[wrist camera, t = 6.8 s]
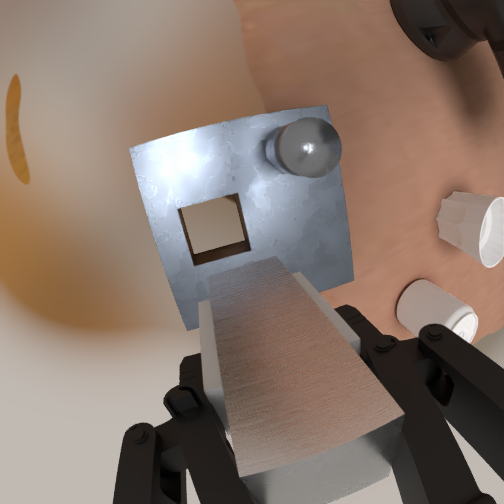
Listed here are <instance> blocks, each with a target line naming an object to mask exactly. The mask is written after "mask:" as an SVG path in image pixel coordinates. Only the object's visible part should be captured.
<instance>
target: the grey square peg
mask: <svg viewBox="0 0 504 504" xmlns="http://www.w3.org/2000/svg"><path fill="white" fill-rule="evenodd" d="M207 279H208V287H209V295H210V303H211V311H212V319H213V326H214V333H215V341H216V348H217V354H218V361H219V368H220V374H221V380H222V387H223V393H224V399H225V405H226V410H227V416H228V422H229V427H230V433H231V438H232V443H233V448H234V454H235V459H236V464H237V468H238V473H239V478H240V479H241V480H242V482H243V483H244V484H245V485H246V487H247V488H248V489H249V491H250V492H251V493H252V494H253V496H254V497H255V498H256V499H257V501H258V502H259V503H260V504H326V503H329V502H332V501H334V500H337V499H339V498H342V497H345V496H347V495H349V494H352V493H354V492H356V491H359V490H361V489H363V488H365V487H367V486H370V485H372V484H374V483H376V482H378V481H380V480H382V479H384V478H386V477H388V476H389V473H390V470H391V467H392V463H393V460H394V457H395V453H396V449H397V445H398V442H399V438H400V434H401V429H402V425H403V421H404V416H405V413H404V412H403V410H402V409H401V408H400V407H399V405H398V404H397V403H396V401H395V400H394V399H393V398H392V396H391V395H390V394H389V393H388V391H387V390H386V389H385V388H384V386H383V385H382V384H381V383H380V381H379V380H378V379H377V378H376V376H375V375H374V374H373V373H372V371H371V370H370V369H369V368H368V366H367V365H366V364H365V363H364V361H363V360H362V359H361V358H360V357H359V355H358V354H357V353H356V352H355V350H354V349H353V348H352V347H351V345H350V344H349V343H348V342H347V341H346V339H345V338H344V337H343V336H342V334H341V333H340V332H339V331H338V329H337V328H336V327H335V326H334V325H333V323H332V322H331V321H330V320H329V319H328V317H327V316H326V315H325V314H324V312H323V311H322V310H321V309H320V308H319V306H318V305H317V304H316V303H315V302H314V300H313V299H312V298H311V297H310V295H309V294H308V293H307V292H306V291H305V289H304V288H303V287H302V286H301V285H300V283H299V282H298V281H297V280H296V279H295V277H294V276H293V275H292V274H291V273H290V271H289V270H288V269H287V268H286V267H285V266H284V264H283V263H282V262H281V261H280V260H279V258H278V257H277V256H273V257H270V258H266V259H263V260H260V261H256V262H253V263H250V264H247V265H243V266H240V267H237V268H233V269H230V270H227V271H223V272H220V273H217V274H213V275H210V276H207Z"/></svg>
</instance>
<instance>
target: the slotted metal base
mask: <svg viewBox="0 0 504 504" xmlns="http://www.w3.org/2000/svg"><path fill="white" fill-rule="evenodd" d="M129 150H130V154H131V158H132V162H133V166H134V170H135V174H136V178H137V182H138V185H139V189H140V192H141V196H142V200H143V203H144V206H145V210H146V213H147V217H148V220H149V223H150V227H151V230H152V233H153V236H154V239H155V243H156V246H157V249H158V252H159V255H160V258H161V261H162V264H163V267H164V270H165V273H166V276H167V278H168V281H169V284H170V287H171V290H172V292H173V295H174V298H175V301H176V303H177V306H178V309H179V311H180V314H181V316H182V319H183V322H184V324H185V327H186V329H187V331H189V330H193V329H196V328H199V310H198V303H199V302H202V301H205V300H209V299H210V295H209V287H208V279H207V276H210V275H213V274H217V273H220V272H223V271H227V270H230V269H233V268H237V267H240V266H243V265H247V264H250V263H253V262H256V261H260V260H263V259H266V258H270V257H273V256H277V257H278V258H279V260H280V261H281V262H282V263H283V264H284V266H285V267H286V268H287V269H288V270H289V271H290V273H291V274H293V273H296V272H299V271H300V272H301V273H302V275H303V276H304V277H305V278H306V279H307V280H308V281H309V282H310V283H311V284H312V285H313V287H314V288H315V289H316V290H317V291H318V292H322V291H325V290H328V289H331V288H334V287H337V286H340V285H343V284H345V283H348V282H351V281H354V273H353V262H352V251H351V242H350V233H349V225H348V217H347V210H346V203H345V196H344V190H343V183H342V177H341V171H340V165H339V160H340V157H341V151H342V148H341V141H340V138H339V135H338V133H337V132H336V130H335V129H334V128H333V126H332V125H331V120H330V115H329V111H328V107H327V105H323V106H314V107H306V108H298V109H291V110H284V111H278V112H272V113H266V114H260V115H255V116H249V117H244V118H239V119H235V120H230V121H225V122H221V123H216V124H212V125H208V126H204V127H200V128H196V129H192V130H188V131H184V132H180V133H177V134H174V135H170V136H166V137H163V138H160V139H156V140H153V141H150V142H146V143H144V144H140V145H137V146H134V147H131V148H129ZM231 194H234V196H235V200H236V204H237V208H238V213H239V217H240V221H241V225H242V229H243V233H244V237H245V241H241V242H238V243H234V244H230V245H226V246H223V247H219V248H215V249H212V250H208V251H205V252H201V253H198V254H194V253H193V249H192V246H191V242H190V239H189V236H188V232H187V229H186V225H185V222H184V218H183V215H182V211H181V208H182V207H186V206H190V205H193V204H197V203H201V202H204V201H208V200H211V199H215V198H219V197H223V196H227V195H231Z"/></svg>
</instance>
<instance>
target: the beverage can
mask: <svg viewBox="0 0 504 504" xmlns="http://www.w3.org/2000/svg"><path fill="white" fill-rule="evenodd" d="M397 318H398V320H399V322H400V323H401V324H402V325H403V326H405V327H406V328H407V329H408V330H409V331H410V332H412V333H413V334H414V335H415V336H416V337H418V335H419V331H420V329H421V328H422V327H424V326H425V325H428V324H434V323H436V324H442V325H444V326H446V327H447V328H449V329H450V330H452V331H453V332H454V333H456V334H457V335H459V336H460V337H461V338H463V339H464V340H465V341H467V342H468V343H471V341H472V339H473V337H474V335H475V333H476V330H477V326H478V318H477V316H476V314H475V313H474V311H473V309H472V308H471V307H470V306H468V305H467V304H465V303H464V302H462V301H460V300H459V299H457V298H456V297H454V296H452V295H451V294H449V293H448V292H446V291H444V290H443V289H441V288H439V287H438V286H436V285H434V284H433V283H431V282H429V281H428V280H424V279H422V280H418V281H415V282H414V283H412V284H411V285H410V286H409V287H408V288H407V289H406V290H405V291H404V292H403V294H402V296H401V297H400V300H399V302H398V306H397Z"/></svg>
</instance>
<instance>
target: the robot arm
mask: <svg viewBox="0 0 504 504" xmlns="http://www.w3.org/2000/svg"><path fill="white" fill-rule="evenodd" d="M391 5H392V8H393V11H394V14H395V16H396V18H397V20H398V22H399V24H400V25H401V27H402V28H403V30H404V31H405V33H406V34H407V35H408V37H409V38H410V39H411V40H412V41H413V42H414V43H415V44H416V45H417V46H418V47H419V48H420V49H421V50H422V51H423V52H425V53H426V54H428V55H429V56H431V57H433V58H435V59H437V60H441V61H448V60H452V59H457V58H459V57H461V56H462V55H463V54H464V53H466V52H467V51H468V50H469V49H471V48H472V47H473V46H474V45H475V44H477V43H478V42H481V41H486V40H488V42H489V45H490V47H491V49H492V51H493V54H494V56H495V58H496V61H497V63H498V65H499V68H500V70H501V73H502V76H503V78H504V0H391ZM292 275H293V276H294V277H295V279H296V280H297V281H298V282H299V283H300V285H301V286H302V287H303V288H304V289H305V291H306V292H307V293H308V294H309V295H310V297H311V298H312V299H313V300H314V302H315V303H316V304H317V305H318V306H319V308H320V309H321V310H322V311H323V312H324V314H325V315H326V316H327V317H328V319H329V320H330V321H331V322H332V323H333V325H334V326H335V327H336V328H337V329H338V331H339V332H340V333H341V334H342V336H343V337H344V338H345V339H346V341H347V342H348V343H349V344H350V345H351V347H352V348H353V349H354V350H355V352H356V353H357V354H358V355H359V357H360V358H361V359H362V360H363V361H364V363H365V364H366V365H367V366H368V368H369V369H370V370H371V371H372V373H373V374H374V375H375V376H376V378H377V379H378V380H379V381H380V383H381V384H382V385H383V386H384V388H385V389H386V390H387V391H388V393H389V394H390V395H391V396H392V398H393V399H394V400H395V401H396V403H397V404H398V405H399V407H400V408H401V409H402V410H403V412H404V413H405V416H404V421H403V425H402V429H401V434H400V438H399V442H398V445H397V449H396V453H395V457H394V460H393V463H392V469H393V472H394V475H395V479H396V482H397V485H398V488H399V491H400V495H401V498H402V502H403V504H496V502H495V500H494V498H493V497H492V496H490V495H489V494H485V493H482V492H481V491H480V490H479V488H478V486H477V484H476V481H475V479H474V477H473V475H472V473H471V470H470V468H469V466H468V464H467V462H466V460H465V458H464V456H463V453H462V451H461V449H460V447H459V445H458V443H457V441H456V439H455V437H454V436H453V434H452V432H451V430H450V428H449V426H448V424H447V422H446V420H447V421H448V422H449V423H450V424H451V425H452V426H453V427H454V428H455V429H456V430H457V431H458V432H459V433H460V435H461V436H462V437H463V438H464V439H465V440H466V441H467V442H468V443H469V444H470V445H471V446H472V447H473V448H474V449H475V450H476V451H477V453H478V454H479V455H480V456H481V457H482V458H483V459H484V460H485V461H486V462H487V463H488V464H489V466H490V467H491V468H492V469H493V470H494V471H495V472H496V473H497V474H498V475H499V476H500V477H501V479H502V480H503V481H504V369H503V368H502V367H500V366H499V365H498V364H496V363H495V362H494V361H492V360H491V359H490V358H489V357H487V356H486V355H484V354H483V353H482V352H480V351H479V350H478V349H476V348H475V347H474V346H472V345H471V344H470V343H468V342H467V341H465V340H464V339H463V338H461V337H460V336H459V335H457V334H456V333H454V332H453V331H452V330H450V329H449V328H447V327H446V326H444V325H442V324H436V323H434V324H428V325H425V326H424V327H422V328H421V329H420V331H419V335H418V337H417V338H412V339H408V340H402V341H399V340H398V339H397V338H396V337H394V336H391V335H383V334H382V333H381V332H380V331H379V330H378V329H377V328H376V327H375V326H373V325H372V324H371V323H370V322H369V321H368V320H366V318H365V317H364V316H363V315H362V314H361V313H360V312H359V311H358V310H357V309H356V308H355V307H352V306H349V305H347V304H346V305H343V306H341V307H338V308H335V309H333V308H332V306H331V305H330V304H329V303H328V302H327V301H326V300H325V299H324V298H323V296H322V295H321V294H320V293H319V292H318V291H317V290H316V289H315V288H314V287H313V285H312V284H311V283H310V282H309V281H308V280H307V279H306V278H305V277H304V276H303V275H302V273H301V272H300V271H299V272H296V273H293V274H292ZM198 310H199V329H200V345H201V353H198V354H194V355H190V356H186V357H184V358H183V360H182V362H181V364H180V375H179V376H180V377H179V380H180V382H179V385H177V386H176V387H174V388H172V389H171V390H169V391H168V392H167V393H166V395H165V397H164V402H163V404H164V405H165V407H166V408H167V410H168V411H169V412H170V414H171V416H172V417H173V418H171V419H170V420H169V421H167V422H165V423H163V424H161V425H159V426H157V427H153V426H152V425H151V424H148V423H138V424H135V425H133V426H132V427H130V428H129V429H128V430H127V431H126V432H125V435H124V437H123V443H122V447H121V453H120V459H119V464H118V471H117V477H116V484H115V491H114V498H113V504H187V493H186V469H188V470H189V472H190V475H191V478H192V481H193V484H194V487H195V490H196V493H197V495H198V498H199V500H200V503H201V504H260V503H259V502H258V501H257V499H256V498H255V497H254V496H253V494H252V493H251V492H250V491H249V489H248V488H247V487H246V485H245V484H244V483H243V482H242V480H241V479H240V478H239V473H238V468H237V464H236V459H235V454H234V451H233V449H232V447H231V445H230V443H229V441H228V440H227V438H226V433H225V430H226V432H227V434H228V435H230V434H231V433H230V427H229V422H228V416H227V410H226V405H225V399H224V393H223V387H222V380H221V374H220V368H219V361H218V354H217V348H216V341H215V333H214V326H213V319H212V311H211V303H210V299H209V300H205V301H202V302H199V303H198ZM445 419H446V420H445Z"/></svg>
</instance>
